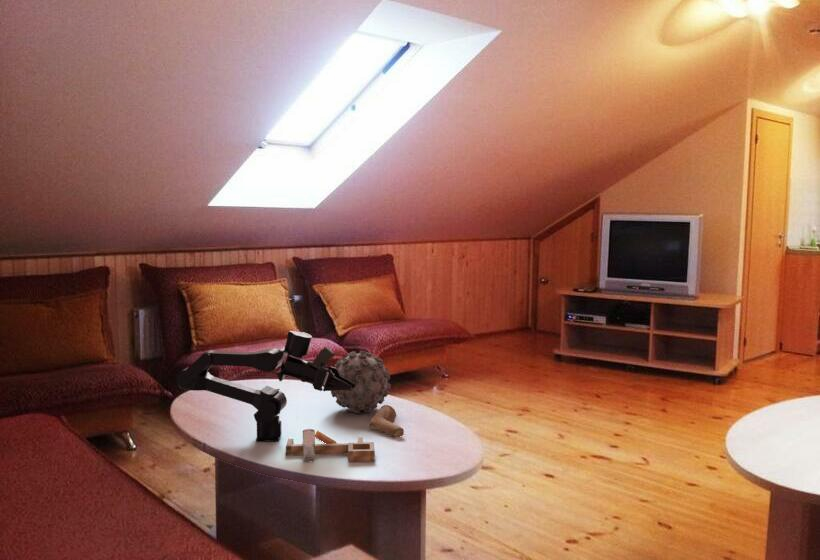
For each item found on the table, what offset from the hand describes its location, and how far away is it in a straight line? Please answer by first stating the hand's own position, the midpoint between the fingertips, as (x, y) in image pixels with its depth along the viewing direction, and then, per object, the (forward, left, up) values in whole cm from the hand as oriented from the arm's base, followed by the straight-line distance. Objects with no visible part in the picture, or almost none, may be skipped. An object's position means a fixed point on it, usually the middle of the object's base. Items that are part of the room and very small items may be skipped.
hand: (353, 387), depth 204 cm
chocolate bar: (-8, +1, -17) cm, 19 cm away
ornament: (+2, +32, -16) cm, 36 cm away
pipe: (+11, +11, -17) cm, 23 cm away
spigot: (-12, -14, -16) cm, 25 cm away
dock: (-6, -10, -16) cm, 20 cm away
